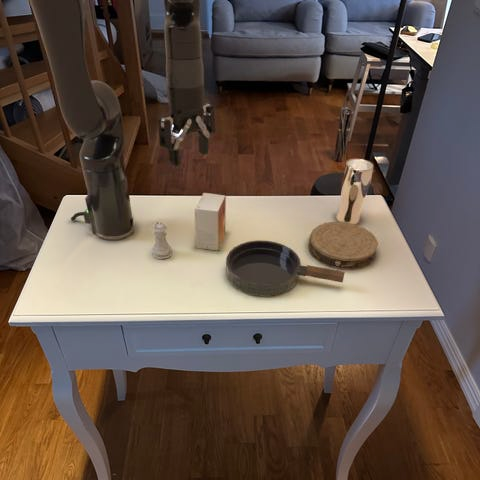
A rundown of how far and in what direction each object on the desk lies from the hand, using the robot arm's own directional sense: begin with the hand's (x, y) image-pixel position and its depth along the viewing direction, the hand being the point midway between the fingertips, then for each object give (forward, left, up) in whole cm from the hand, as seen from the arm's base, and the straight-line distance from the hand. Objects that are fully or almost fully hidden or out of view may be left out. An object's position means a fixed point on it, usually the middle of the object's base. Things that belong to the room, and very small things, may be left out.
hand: (189, 159), depth 102 cm
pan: (+21, -14, -18) cm, 31 cm away
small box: (+6, -5, -18) cm, 19 cm away
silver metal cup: (+37, +16, -18) cm, 45 cm away
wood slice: (+37, +1, -18) cm, 41 cm away
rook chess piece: (-3, -14, -18) cm, 23 cm away
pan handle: (+34, -14, -15) cm, 40 cm away
